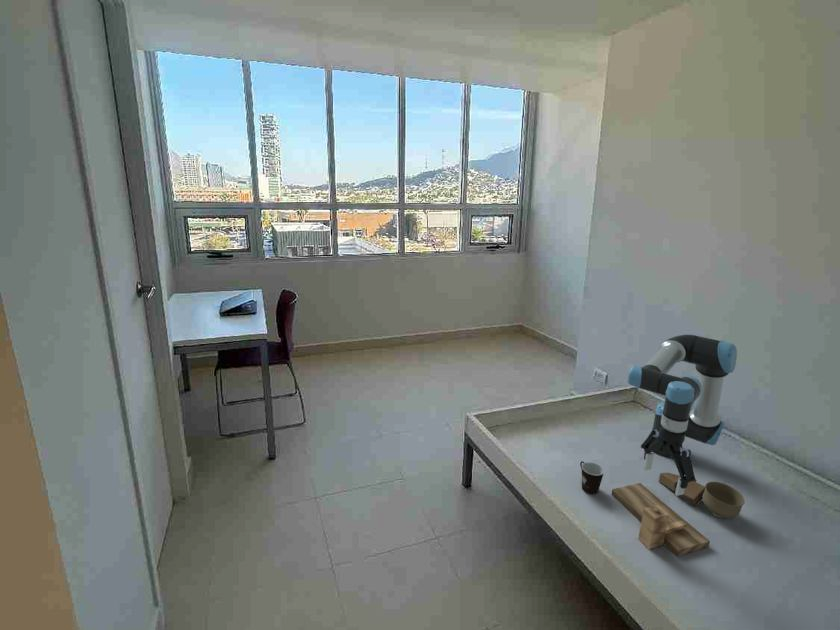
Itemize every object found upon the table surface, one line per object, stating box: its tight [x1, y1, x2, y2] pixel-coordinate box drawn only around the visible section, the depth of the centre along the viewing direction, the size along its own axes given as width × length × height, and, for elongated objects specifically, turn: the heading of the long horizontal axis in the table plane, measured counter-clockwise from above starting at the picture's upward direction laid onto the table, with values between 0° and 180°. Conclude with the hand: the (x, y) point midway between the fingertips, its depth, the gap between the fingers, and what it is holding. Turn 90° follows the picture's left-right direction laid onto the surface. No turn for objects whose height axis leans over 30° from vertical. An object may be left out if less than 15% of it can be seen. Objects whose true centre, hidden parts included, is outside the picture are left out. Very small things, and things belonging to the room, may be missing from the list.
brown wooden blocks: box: [658, 472, 705, 507], centre depth 178 cm, size 8×13×18 cm
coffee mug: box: [579, 460, 605, 495], centre depth 179 cm, size 12×9×10 cm
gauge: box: [637, 505, 687, 550], centre depth 152 cm, size 18×5×14 cm, turn 107°
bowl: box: [702, 481, 746, 518], centre depth 165 cm, size 13×13×10 cm
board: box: [611, 482, 711, 557], centre depth 163 cm, size 14×32×2 cm, turn 17°
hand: (662, 481), depth 149 cm, fingers open, 13 cm apart
